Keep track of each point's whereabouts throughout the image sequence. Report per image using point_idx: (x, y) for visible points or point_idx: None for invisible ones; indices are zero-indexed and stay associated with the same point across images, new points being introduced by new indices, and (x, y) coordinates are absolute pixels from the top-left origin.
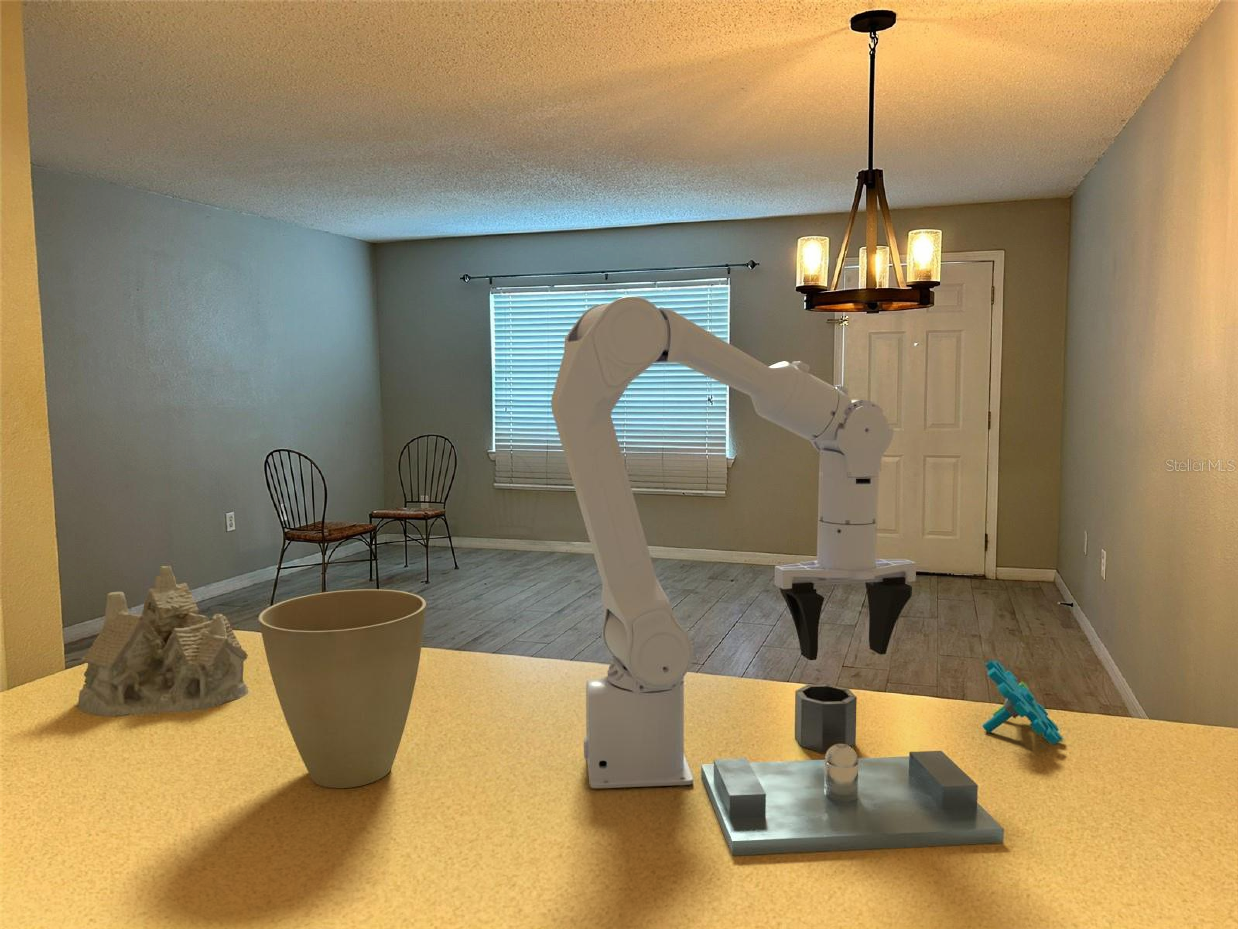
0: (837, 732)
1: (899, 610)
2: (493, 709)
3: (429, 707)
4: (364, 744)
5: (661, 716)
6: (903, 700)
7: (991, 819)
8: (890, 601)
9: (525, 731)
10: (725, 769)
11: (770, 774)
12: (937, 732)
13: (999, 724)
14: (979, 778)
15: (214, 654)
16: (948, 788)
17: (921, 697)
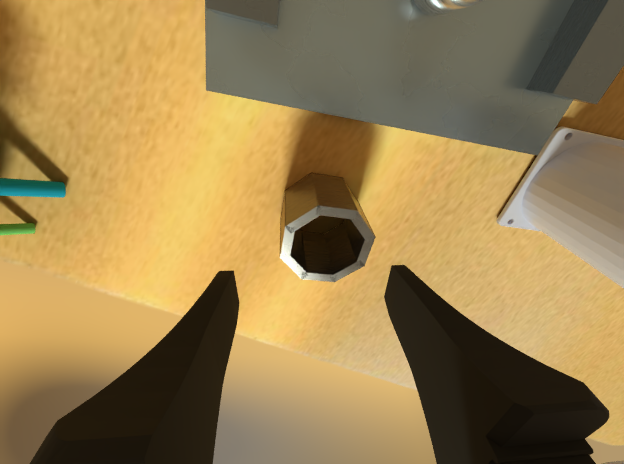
0: (325, 186)
1: (145, 363)
2: (569, 331)
3: (608, 340)
4: None
5: None
6: (158, 294)
7: None
8: (176, 396)
9: (584, 289)
10: (618, 56)
11: (485, 95)
12: (146, 202)
13: (31, 180)
14: (136, 19)
15: None
16: None
17: (129, 298)
